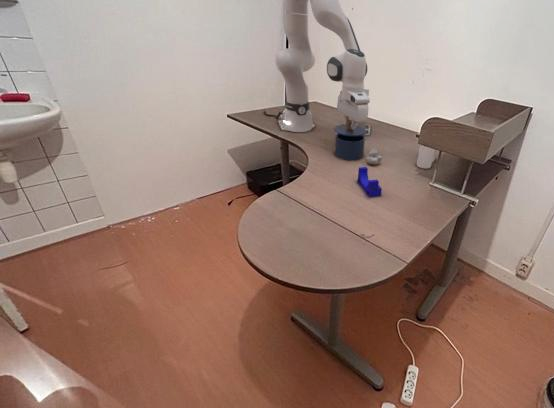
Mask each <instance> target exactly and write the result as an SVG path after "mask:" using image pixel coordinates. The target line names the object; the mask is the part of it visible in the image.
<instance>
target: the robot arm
mask: <svg viewBox="0 0 554 408" xmlns="http://www.w3.org/2000/svg"><path fill="white" fill-rule="evenodd" d="M309 3H310V7H311V11H312V15H313V17H314V19H315V20H316V21H315V22H317V23H318V24H319V25H320V26H321V27H323V28H325V29H326V30H329V31H331V32H332V33H334V34H335V35H337V36H338V37H339V38H340V40H341V41H342V44H343V46H344V49H345V51H344V52H343V53H342V54H339V55H336V56H335V55H334V56H331V57H330V58H329V59H328V61H327V64H326V74H327V76H328V78H329V79H330V80H331V81H332V82H337V83H340V82H341V83H342V85H341V91H339V94H338V96H337V103H336V110H337V112H339V113H341V114H343V118H344V123H345V124H344V125H346V126H347V120H352V124H350V128H351V129H355V126H356V124H358V123H365V122H366V123H367V121H368V117H369V104H370V101H371V99H370V97H369V96H367V95H366V93H365V91H364V89H365V78H366V76H367V73H368V63H367V60H366V55H365V53H364V52H363V51H362V50H361V48H360V46H359V42H358V41H357V36H356V34H355V32H354V29H353V26H352V23H351V21H350V19H349V18H348V17H347V15H346V14H345V13H344V10H343V8H342V6H341V4H340V2H339V0H282V24H283V33H284V35H285V37H286V38H287V41H288V45H289V48H284V49H282V50H280V51H278V52H277V54H276V55H275V58H274V61H275V66H276V68H277V70H278V71H279V72H280V74H281V75H282V78H283V82H284V85H285V93H286V94H285V95H286V96H285V97H286V101H285V105H284V106H285V109H284V110H281V111H278V113H277V114H270V113H269V114H268V113H266V112H267V111H266V110H264V111H263V114H264V115H265V116H268V117H275V118H276V119H277V120H278V119H279V120H278V121H277V122H278V125H279V128H280V130H281V131H286V132H291V133H306V132H310V131H312V130H313V129H314V128H315V127H316V126H315V124H313V112H312V111H310V101H309V85H308V84H307V83H306V80H305V78H304V73H305V72H308V71H310V70H311V69H313V68H314V66H315V63H316V56H315V54H314V52H313V50H312V47H311V43H310V37H309ZM367 103H368V104H367Z"/></svg>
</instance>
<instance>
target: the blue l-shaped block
mask: <svg viewBox="0 0 554 408" xmlns="http://www.w3.org/2000/svg"><path fill="white" fill-rule="evenodd" d="M357 171H358V173H357V183H358V184H359V186H360V187H361V188H362V190H363V191H364V193H365V194H366V195H367V197H368V198H375V197H382V190H383V189H382V187H381V186H380V184H379V183H380V181H379V180H378V179H369V173H368V172H369V171H368V167H367V166H361V167H358V170H357Z"/></svg>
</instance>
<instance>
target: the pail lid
mask: <svg viewBox="0 0 554 408" xmlns="http://www.w3.org/2000/svg"><path fill="white" fill-rule="evenodd" d="M350 124H352V119H349V120H347V126H346V125H345V124H339V125H336V126H334V127H333V131H334V132H335V133H336V134H341V135H345V136H361V135H364V134H367V133H366V132H367V131H366V130H365V129H366V128H365V129H363V128H362V127H359V126H355V129H351V128H350Z"/></svg>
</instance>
